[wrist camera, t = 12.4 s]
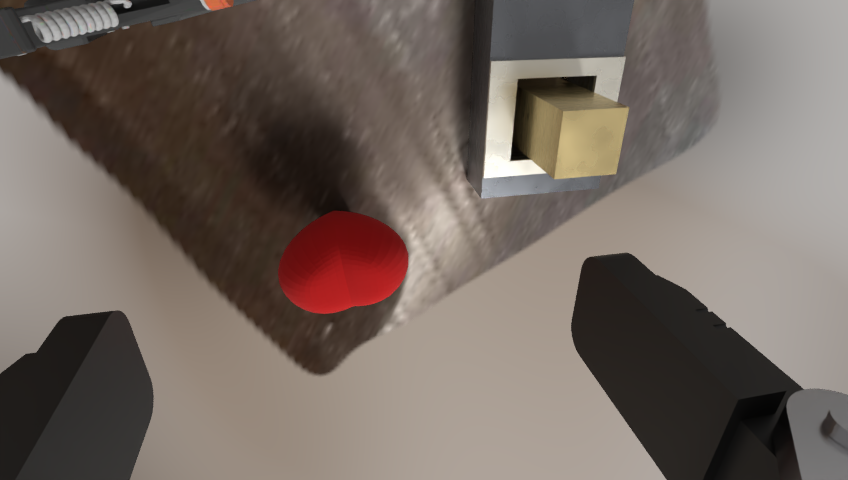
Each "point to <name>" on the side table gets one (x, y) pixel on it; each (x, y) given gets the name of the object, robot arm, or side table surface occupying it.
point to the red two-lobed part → (342, 263)
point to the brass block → (568, 128)
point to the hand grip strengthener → (88, 20)
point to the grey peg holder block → (536, 58)
